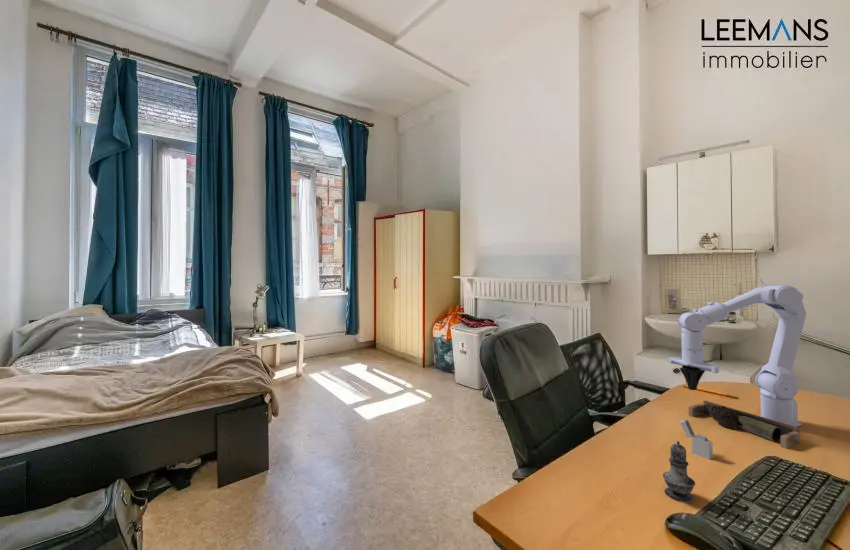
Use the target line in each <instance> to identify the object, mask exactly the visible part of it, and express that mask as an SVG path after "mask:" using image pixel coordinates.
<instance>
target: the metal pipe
mask: <svg viewBox="0 0 850 550" xmlns="http://www.w3.org/2000/svg"><path fill="white" fill-rule="evenodd" d="M726 407H727V406H726ZM726 407H725V405H723V406H722V407H721V406H718V407H717V406H711V407H710V410H709V414H708V415H709V416H710V417H711V418H712V419H713V420H715V421H716V422H717V424H718V425H719V426H720V425H721V427H724V428H726V429H728V430H729V429H731V430H732V429H733V430H734V429H737V430H738V429H739V430H740V429H742V430H745V431H748V432H749V433H752V434H755V435H757V436H760V437H762V438H764V439H766V440H770V441H772V442H775V443H776V442H781V437H780V436H781V435H782V433H781V432H782V430H781V429H780V428H778V427H775V426H773V425H770V424H767V423H764V422H761V421H758V420H755V419H752V418H749V417H746V416H740V415H738V414H737V413H735V412H734V411H732V410H731V409H727V408H726Z"/></svg>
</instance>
